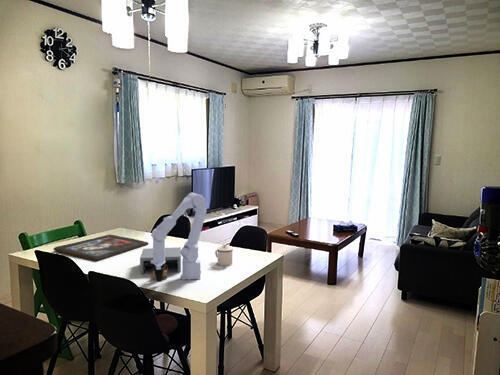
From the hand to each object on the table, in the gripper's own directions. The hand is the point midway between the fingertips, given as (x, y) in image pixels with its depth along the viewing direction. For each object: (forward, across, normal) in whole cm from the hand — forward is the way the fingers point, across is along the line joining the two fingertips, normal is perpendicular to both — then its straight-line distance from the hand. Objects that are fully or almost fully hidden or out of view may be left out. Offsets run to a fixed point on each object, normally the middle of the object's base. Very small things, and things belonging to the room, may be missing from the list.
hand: (159, 278), depth 183 cm
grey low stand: (+2, -22, 0) cm, 23 cm away
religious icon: (+3, -68, -40) cm, 78 cm away
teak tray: (+2, -13, 0) cm, 13 cm away
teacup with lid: (+2, -25, +35) cm, 43 cm away
